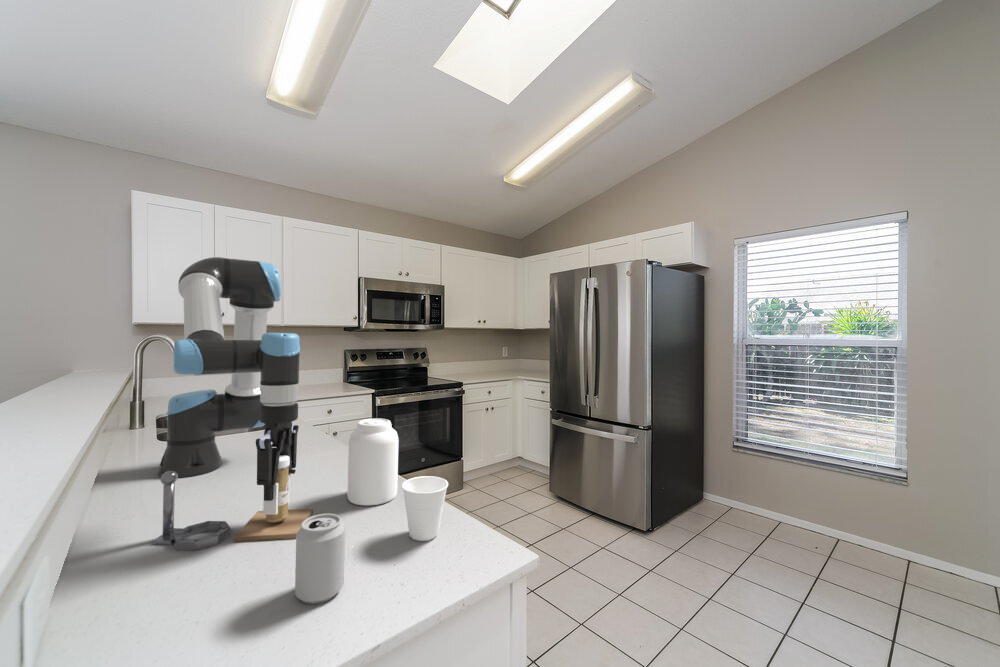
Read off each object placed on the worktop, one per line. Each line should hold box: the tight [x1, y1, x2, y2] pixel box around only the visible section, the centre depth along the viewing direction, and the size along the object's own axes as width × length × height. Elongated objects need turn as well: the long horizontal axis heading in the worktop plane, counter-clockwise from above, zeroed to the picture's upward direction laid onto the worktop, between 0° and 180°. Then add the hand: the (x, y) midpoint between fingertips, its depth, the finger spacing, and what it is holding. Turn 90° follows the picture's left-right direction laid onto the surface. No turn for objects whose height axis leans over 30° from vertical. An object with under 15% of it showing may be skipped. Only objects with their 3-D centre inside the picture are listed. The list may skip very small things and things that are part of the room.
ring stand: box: [152, 471, 231, 552], centre depth 84 cm, size 9×13×14 cm
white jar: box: [347, 417, 400, 507], centre depth 107 cm, size 12×12×20 cm
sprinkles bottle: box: [265, 455, 290, 522], centre depth 90 cm, size 5×5×13 cm
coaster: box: [233, 508, 314, 543], centre depth 90 cm, size 12×12×1 cm
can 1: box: [294, 513, 346, 605], centre depth 68 cm, size 8×8×12 cm
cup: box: [401, 475, 449, 542], centre depth 88 cm, size 10×10×11 cm
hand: (276, 508), depth 90 cm, fingers closed on sprinkles bottle, 4 cm apart
